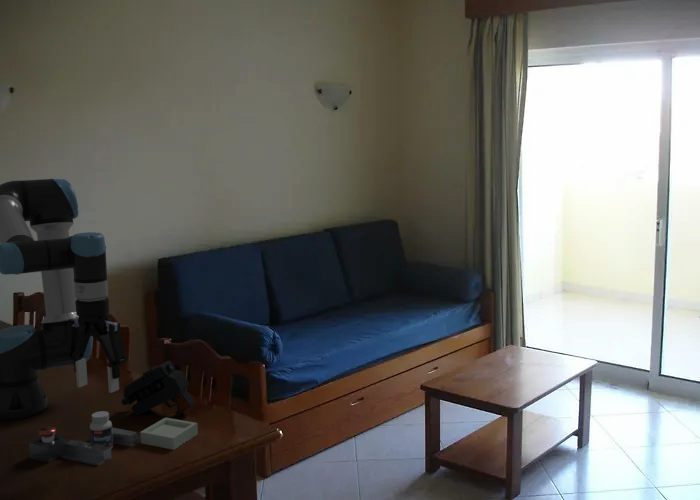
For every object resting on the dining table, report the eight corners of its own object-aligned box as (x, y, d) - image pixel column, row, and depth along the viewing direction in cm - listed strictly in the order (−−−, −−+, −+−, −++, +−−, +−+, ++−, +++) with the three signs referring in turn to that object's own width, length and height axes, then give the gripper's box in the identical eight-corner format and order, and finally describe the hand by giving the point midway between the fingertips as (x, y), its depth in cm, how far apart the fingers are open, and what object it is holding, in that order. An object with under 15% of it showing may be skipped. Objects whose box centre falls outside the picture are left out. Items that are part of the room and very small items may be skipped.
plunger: (37, 454, 172) (35, 431, 171) (49, 448, 176) (47, 425, 175) (49, 457, 171) (47, 434, 170) (61, 450, 174) (59, 428, 173)
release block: (30, 458, 172) (29, 442, 171) (49, 448, 177) (48, 433, 177) (49, 462, 170) (48, 446, 169) (68, 452, 175) (67, 437, 174)
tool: (192, 409, 194) (164, 361, 193) (137, 438, 199) (110, 392, 198) (201, 401, 200) (174, 355, 199) (148, 429, 205) (121, 384, 204)
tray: (141, 443, 180) (140, 431, 179) (166, 428, 189) (165, 417, 189) (173, 449, 176) (173, 438, 176) (197, 434, 185) (197, 423, 185)
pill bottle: (92, 454, 174) (90, 420, 172) (89, 446, 178) (86, 412, 177) (115, 450, 176) (112, 415, 175) (111, 442, 181) (109, 408, 179)
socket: (59, 457, 172) (58, 446, 172) (105, 432, 187) (104, 422, 186) (98, 466, 168) (97, 454, 167) (142, 439, 182) (142, 429, 182)
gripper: (45, 297, 172) (52, 387, 176) (117, 305, 163) (123, 399, 167) (68, 291, 179) (74, 377, 182) (139, 298, 170) (144, 389, 174)
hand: (98, 388), depth 175 cm, fingers open, 9 cm apart
